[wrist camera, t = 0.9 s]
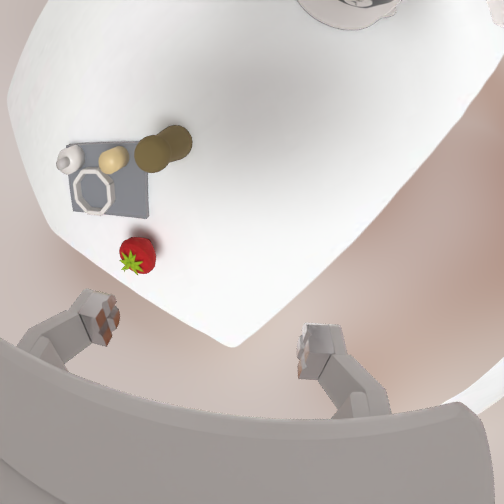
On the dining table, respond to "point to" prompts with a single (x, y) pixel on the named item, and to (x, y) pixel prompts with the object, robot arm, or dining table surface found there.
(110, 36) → the dining table surface
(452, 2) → the dining table surface
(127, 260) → the strawberry
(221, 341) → the dining table surface
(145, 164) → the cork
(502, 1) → the milk
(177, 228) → the dining table surface
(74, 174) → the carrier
